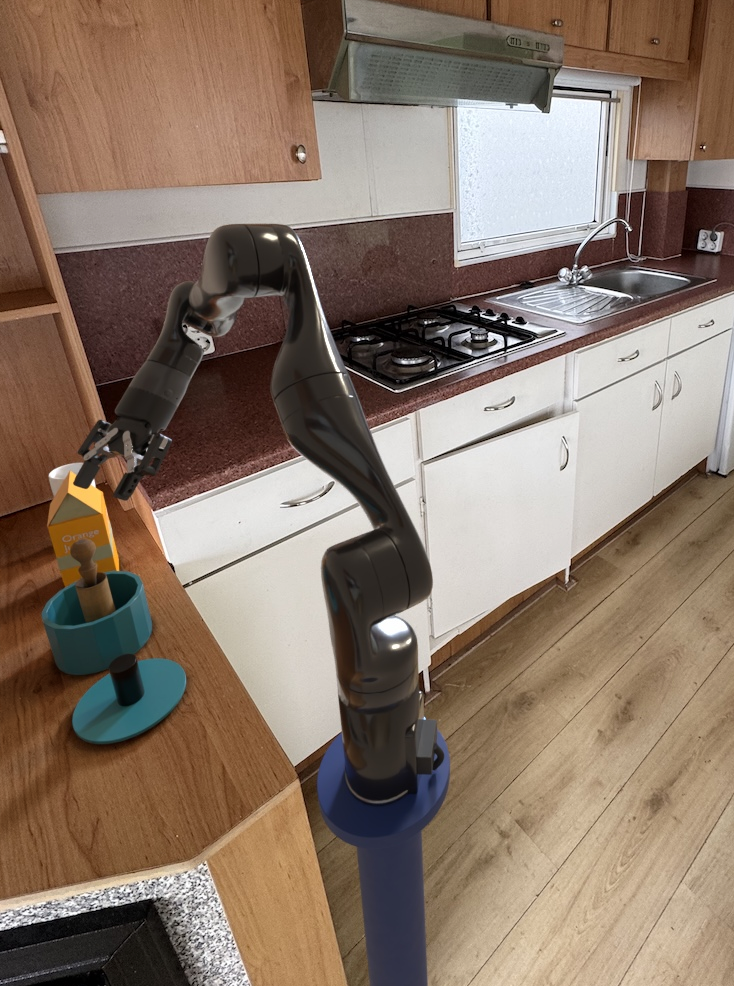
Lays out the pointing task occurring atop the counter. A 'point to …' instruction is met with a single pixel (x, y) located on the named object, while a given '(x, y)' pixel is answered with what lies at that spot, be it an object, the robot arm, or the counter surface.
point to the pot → (97, 626)
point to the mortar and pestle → (91, 583)
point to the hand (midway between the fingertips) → (99, 493)
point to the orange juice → (80, 528)
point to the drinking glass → (63, 475)
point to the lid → (128, 699)
